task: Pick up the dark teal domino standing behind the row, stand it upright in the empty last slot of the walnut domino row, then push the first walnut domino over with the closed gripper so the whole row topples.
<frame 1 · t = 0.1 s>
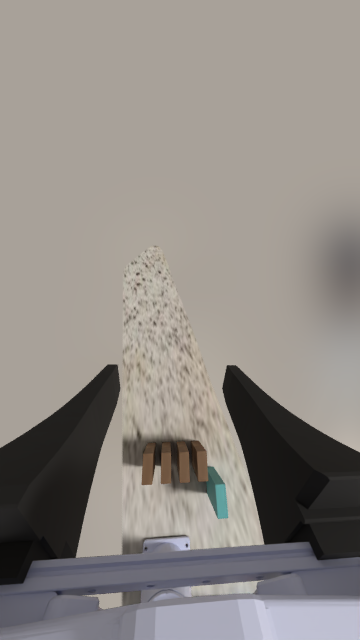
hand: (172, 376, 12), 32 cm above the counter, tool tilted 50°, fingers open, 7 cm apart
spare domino: (210, 479, 35), on the counter
domino 3: (180, 453, 37), on the counter
domino 1: (151, 454, 36), on the counter
domino 4: (195, 452, 37), on the counter
domino 2: (166, 453, 36), on the counter
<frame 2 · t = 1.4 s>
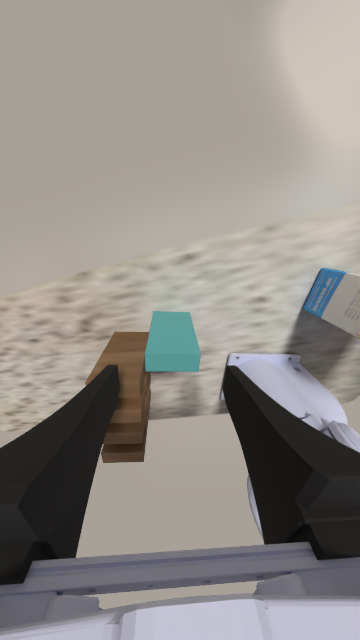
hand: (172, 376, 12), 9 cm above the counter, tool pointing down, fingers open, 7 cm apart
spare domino: (171, 318, 20), on the counter
domino 3: (134, 358, 22), on the counter
domino 1: (136, 393, 25), on the counter
domino 4: (132, 337, 21), on the counter
domino 2: (135, 377, 24), on the counter
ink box: (341, 294, 21), on the counter
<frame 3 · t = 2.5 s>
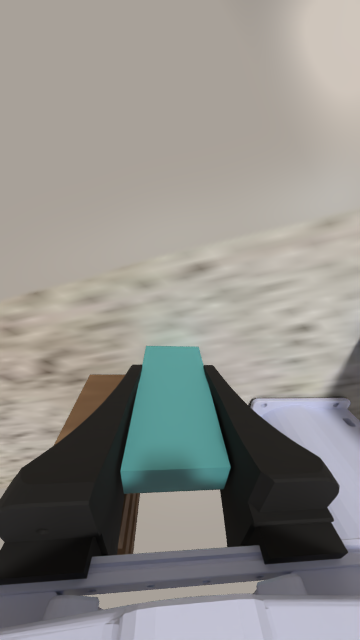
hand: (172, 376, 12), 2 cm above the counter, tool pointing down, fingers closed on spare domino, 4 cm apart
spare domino: (172, 355, 14), on the counter, touching gripper
domino 4: (116, 381, 15), on the counter
domino 2: (122, 428, 17), on the counter
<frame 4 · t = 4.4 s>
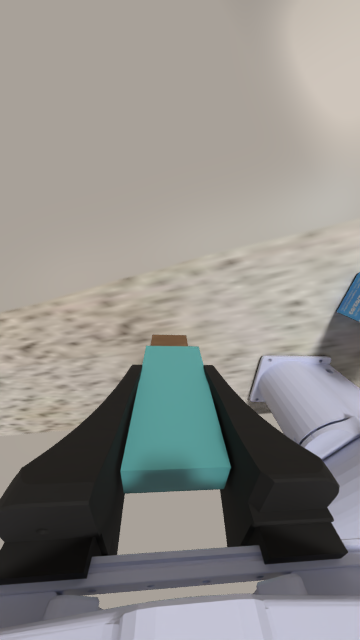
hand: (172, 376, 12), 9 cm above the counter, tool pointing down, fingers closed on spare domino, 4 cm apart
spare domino: (172, 354, 14), point 7 cm above the counter, touching gripper
domino 4: (169, 340, 22), on the counter
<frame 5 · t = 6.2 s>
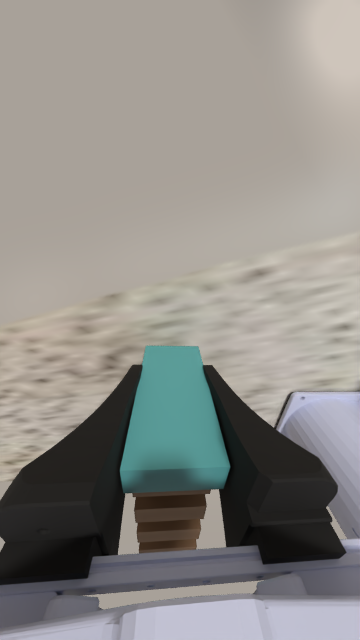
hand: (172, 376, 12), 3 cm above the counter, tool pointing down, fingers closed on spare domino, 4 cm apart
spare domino: (172, 354, 14), point 1 cm above the counter, touching gripper
domino 3: (169, 399, 17), on the counter
domino 1: (168, 438, 20), on the counter
domino 4: (170, 375, 16), on the counter
domino 2: (169, 420, 19), on the counter
when the fingers open (3 cm above the counter, at t = 6.3 s): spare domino drops 1 cm, on the counter.
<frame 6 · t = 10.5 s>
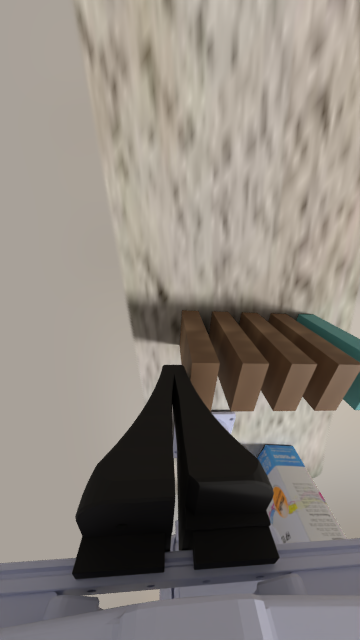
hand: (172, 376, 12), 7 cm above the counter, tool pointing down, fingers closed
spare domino: (299, 331, 19), on the counter
domino 3: (245, 330, 19), on the counter
domino 1: (188, 328, 18), on the counter, touching gripper
domino 4: (272, 331, 19), on the counter
domino 2: (217, 329, 18), on the counter
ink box: (267, 458, 30), on the counter
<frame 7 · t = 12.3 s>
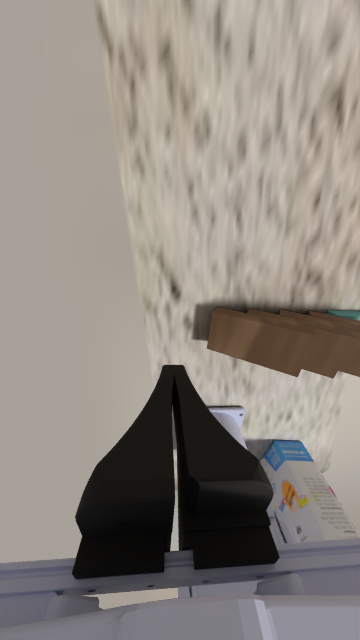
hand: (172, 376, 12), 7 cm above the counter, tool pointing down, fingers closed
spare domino: (323, 329, 19), on the counter, tilted 90°, touching domino 4
domino 3: (274, 329, 18), point 1 cm above the counter, tilted 60°, touching domino 2, domino 4
domino 1: (211, 327, 18), point 1 cm above the counter, tilted 60°, touching domino 2
domino 4: (302, 330, 19), point 1 cm above the counter, tilted 60°, touching domino 3, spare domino
domino 2: (243, 329, 18), point 1 cm above the counter, tilted 60°, touching domino 1, domino 3
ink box: (276, 454, 30), on the counter
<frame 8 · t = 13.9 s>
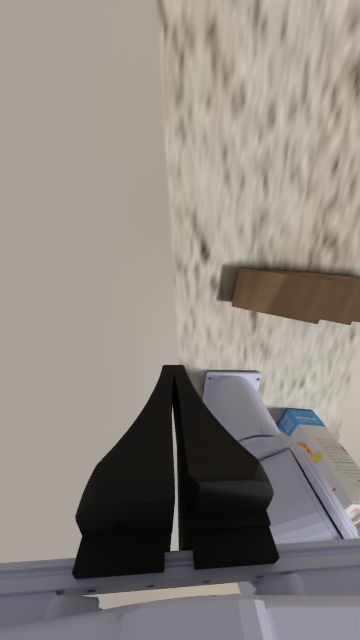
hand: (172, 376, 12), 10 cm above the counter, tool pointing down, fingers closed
domino 3: (293, 289, 20), point 1 cm above the counter, tilted 61°, touching domino 2, domino 4
domino 1: (236, 287, 20), point 1 cm above the counter, tilted 61°, touching domino 2
domino 2: (265, 288, 20), point 1 cm above the counter, tilted 61°, touching domino 1, domino 3
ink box: (288, 424, 31), on the counter
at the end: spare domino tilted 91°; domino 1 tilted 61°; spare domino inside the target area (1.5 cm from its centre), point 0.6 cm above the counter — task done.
